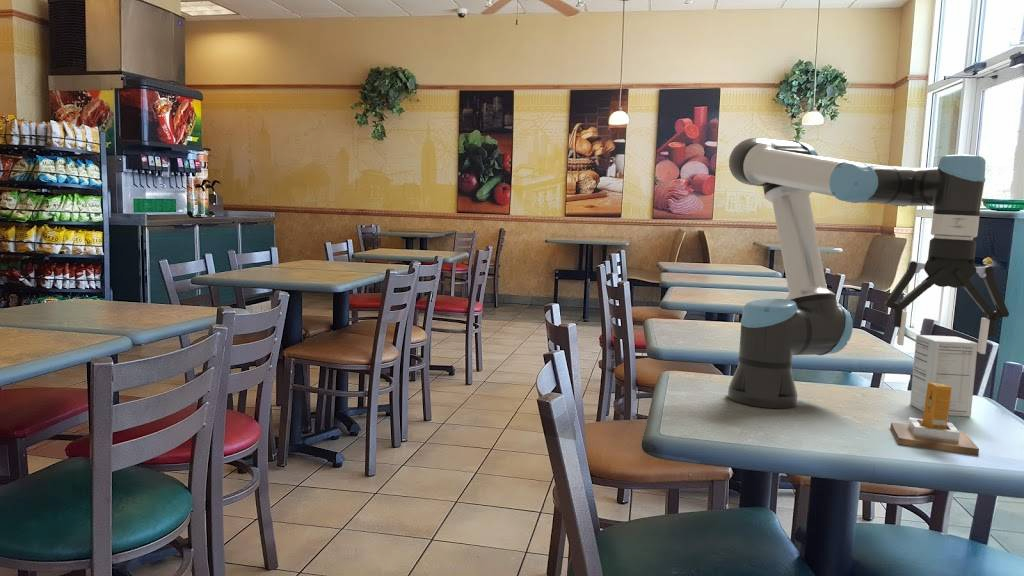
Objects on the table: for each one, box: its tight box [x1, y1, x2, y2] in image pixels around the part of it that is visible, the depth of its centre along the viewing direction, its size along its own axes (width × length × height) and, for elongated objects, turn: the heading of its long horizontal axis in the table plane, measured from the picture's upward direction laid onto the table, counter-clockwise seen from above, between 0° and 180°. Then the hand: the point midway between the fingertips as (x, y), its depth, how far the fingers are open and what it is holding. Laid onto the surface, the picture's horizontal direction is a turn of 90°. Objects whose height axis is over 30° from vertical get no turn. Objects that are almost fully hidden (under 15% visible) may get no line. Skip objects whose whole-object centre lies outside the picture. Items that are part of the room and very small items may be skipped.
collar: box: [908, 417, 960, 443], centre depth 137 cm, size 7×7×2 cm
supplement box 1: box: [909, 334, 978, 417], centre depth 161 cm, size 10×9×17 cm
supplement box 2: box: [922, 383, 952, 429], centre depth 136 cm, size 3×3×10 cm
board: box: [890, 421, 980, 456], centre depth 137 cm, size 13×12×1 cm
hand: (939, 348), depth 136 cm, fingers open, 13 cm apart
